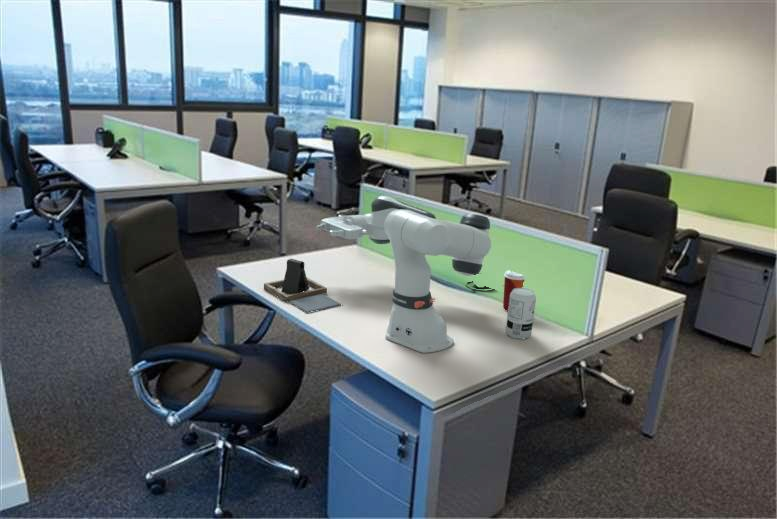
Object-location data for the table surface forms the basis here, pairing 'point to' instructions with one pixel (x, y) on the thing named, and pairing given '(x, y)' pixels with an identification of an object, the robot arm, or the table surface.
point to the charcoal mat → (314, 303)
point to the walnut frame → (318, 290)
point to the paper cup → (511, 285)
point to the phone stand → (295, 277)
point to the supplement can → (520, 313)
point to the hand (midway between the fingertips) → (324, 231)
